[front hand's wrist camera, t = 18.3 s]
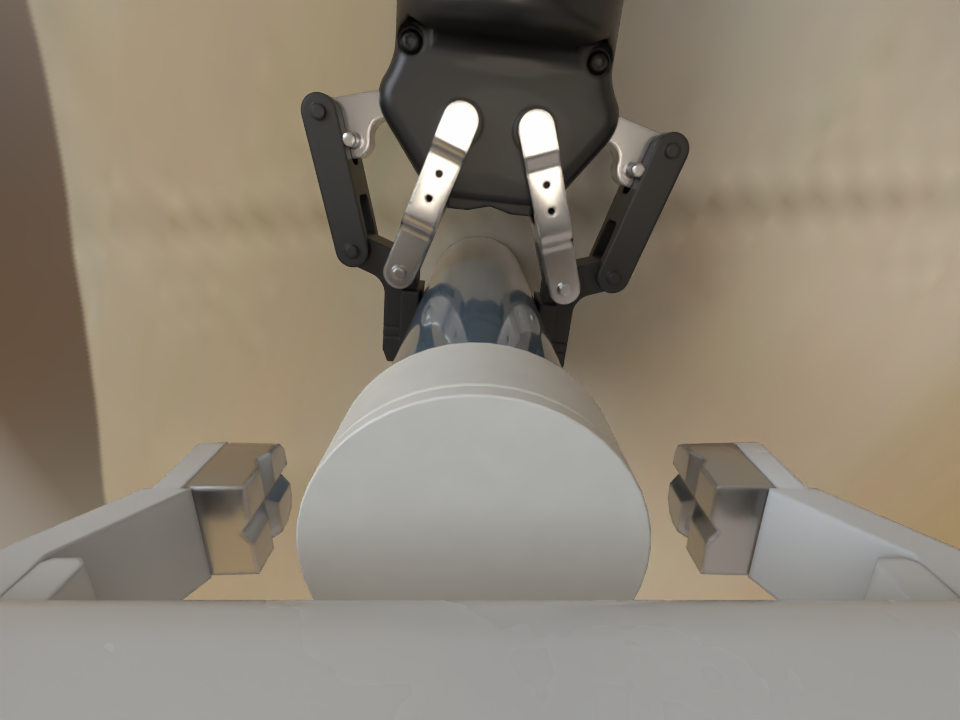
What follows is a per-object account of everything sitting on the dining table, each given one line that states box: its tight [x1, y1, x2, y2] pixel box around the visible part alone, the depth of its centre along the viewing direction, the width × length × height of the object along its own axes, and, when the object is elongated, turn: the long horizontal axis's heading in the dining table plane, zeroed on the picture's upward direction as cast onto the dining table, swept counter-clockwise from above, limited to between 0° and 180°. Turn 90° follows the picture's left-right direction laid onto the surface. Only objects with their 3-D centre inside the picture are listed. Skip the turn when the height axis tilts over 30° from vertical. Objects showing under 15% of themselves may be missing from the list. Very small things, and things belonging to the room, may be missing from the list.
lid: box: [296, 342, 651, 600], centre depth 9 cm, size 6×6×2 cm
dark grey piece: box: [391, 237, 562, 368], centre depth 18 cm, size 5×5×20 cm
